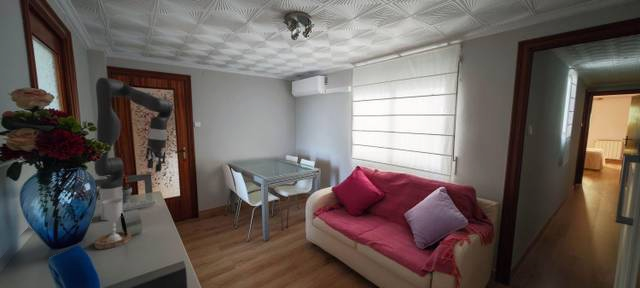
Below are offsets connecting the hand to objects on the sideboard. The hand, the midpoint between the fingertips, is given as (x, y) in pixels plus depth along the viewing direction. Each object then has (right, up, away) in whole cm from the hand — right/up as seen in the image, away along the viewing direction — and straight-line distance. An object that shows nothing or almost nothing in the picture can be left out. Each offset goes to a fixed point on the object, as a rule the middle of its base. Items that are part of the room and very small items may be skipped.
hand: (153, 169), depth 119 cm
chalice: (-8, -30, -14) cm, 34 cm away
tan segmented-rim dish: (-8, -31, -14) cm, 35 cm away
